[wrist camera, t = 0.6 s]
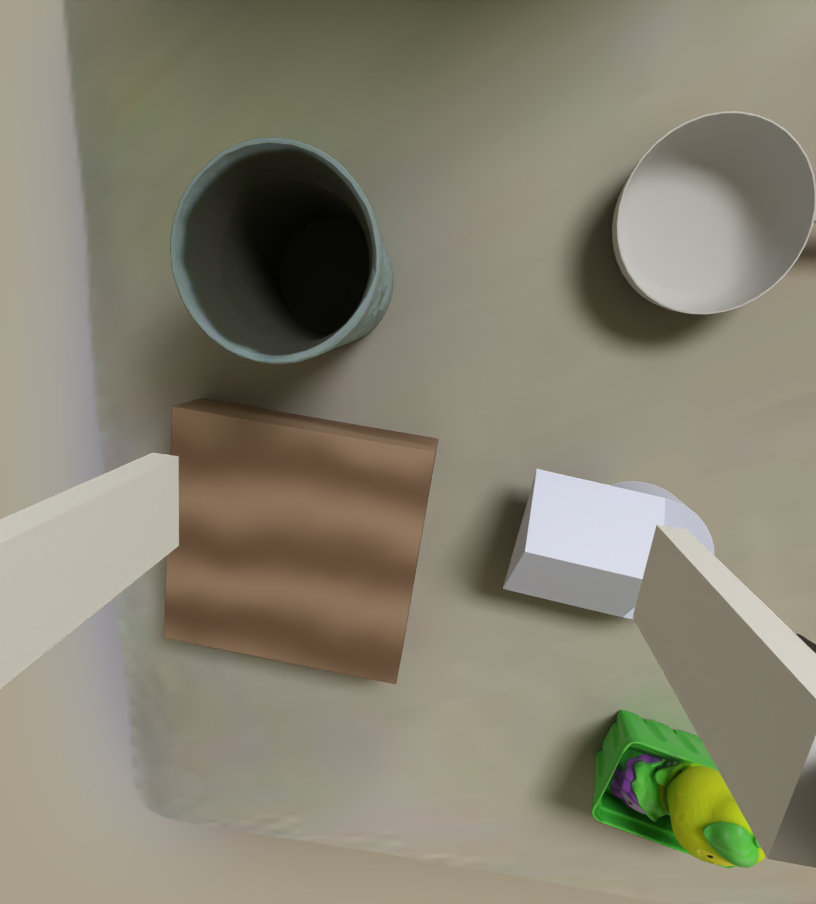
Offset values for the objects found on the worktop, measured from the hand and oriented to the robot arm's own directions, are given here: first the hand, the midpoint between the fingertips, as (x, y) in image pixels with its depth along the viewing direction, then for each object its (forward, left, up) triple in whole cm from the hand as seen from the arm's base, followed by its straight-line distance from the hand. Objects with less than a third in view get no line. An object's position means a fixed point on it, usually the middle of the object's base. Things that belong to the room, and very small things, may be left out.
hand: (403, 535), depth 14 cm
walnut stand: (+11, -9, -24) cm, 28 cm away
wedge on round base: (+7, +13, -24) cm, 28 cm away
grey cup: (-8, -9, -24) cm, 27 cm away
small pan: (-15, +17, -24) cm, 33 cm away
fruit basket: (+24, +22, -24) cm, 41 cm away
